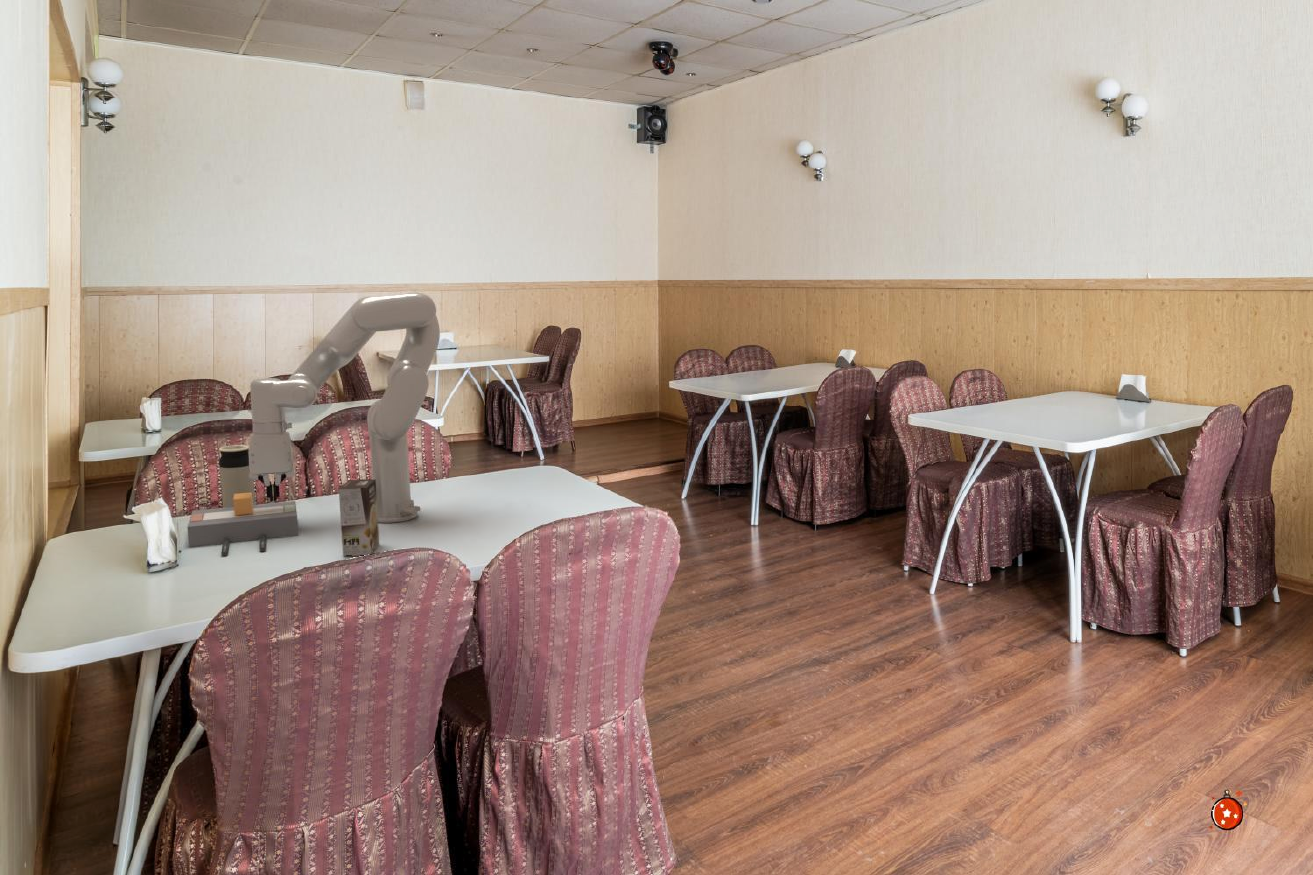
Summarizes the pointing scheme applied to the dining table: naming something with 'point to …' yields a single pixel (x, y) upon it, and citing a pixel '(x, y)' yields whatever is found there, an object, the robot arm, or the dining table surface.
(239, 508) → the knob
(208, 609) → the dining table surface
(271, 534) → the box
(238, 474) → the travel mug
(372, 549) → the coffee box
